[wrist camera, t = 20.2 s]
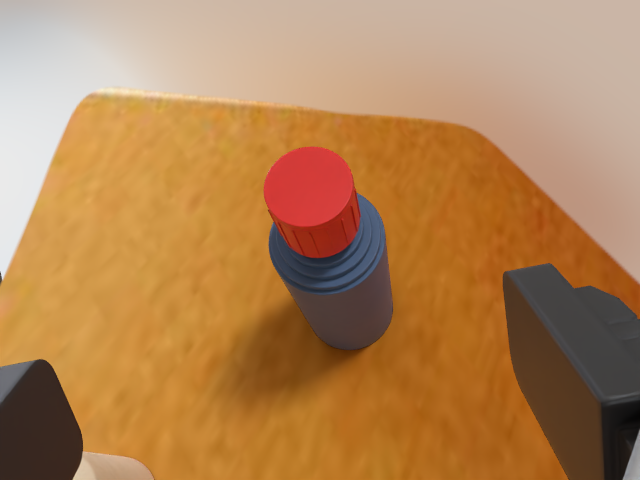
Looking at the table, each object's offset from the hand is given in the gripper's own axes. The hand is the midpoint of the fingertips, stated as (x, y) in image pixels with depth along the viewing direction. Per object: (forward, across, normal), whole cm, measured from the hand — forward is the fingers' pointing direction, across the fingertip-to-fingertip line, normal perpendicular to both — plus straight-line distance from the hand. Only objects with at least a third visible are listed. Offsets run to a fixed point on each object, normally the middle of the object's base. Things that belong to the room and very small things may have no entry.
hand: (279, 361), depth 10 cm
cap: (+19, 0, +4) cm, 19 cm away
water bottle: (+30, 0, +15) cm, 33 cm away
